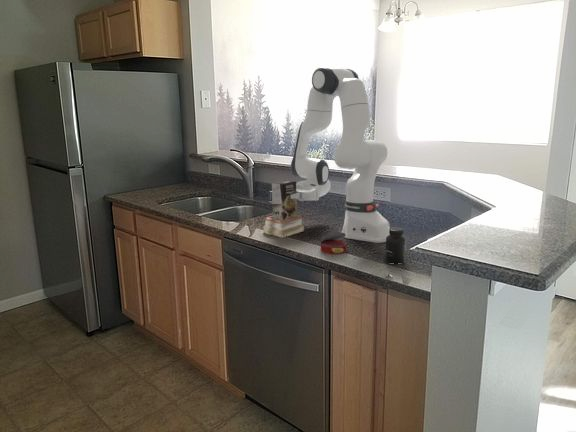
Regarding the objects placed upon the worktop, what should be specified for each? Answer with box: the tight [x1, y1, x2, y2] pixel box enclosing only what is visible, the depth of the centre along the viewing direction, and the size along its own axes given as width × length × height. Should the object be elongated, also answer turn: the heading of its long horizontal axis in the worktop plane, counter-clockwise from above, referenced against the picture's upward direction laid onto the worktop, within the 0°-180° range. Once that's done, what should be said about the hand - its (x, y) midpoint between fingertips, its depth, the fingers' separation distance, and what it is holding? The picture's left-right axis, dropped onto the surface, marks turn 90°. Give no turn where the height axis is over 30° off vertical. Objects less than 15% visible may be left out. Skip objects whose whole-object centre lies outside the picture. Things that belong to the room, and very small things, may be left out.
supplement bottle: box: [384, 226, 407, 264], centre depth 158 cm, size 7×7×12 cm
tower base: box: [262, 214, 305, 239], centre depth 197 cm, size 11×14×7 cm
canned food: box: [319, 231, 348, 255], centre depth 172 cm, size 11×10×10 cm
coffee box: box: [271, 180, 298, 221], centre depth 195 cm, size 9×6×16 cm
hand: (282, 195), depth 193 cm, fingers open, 7 cm apart
